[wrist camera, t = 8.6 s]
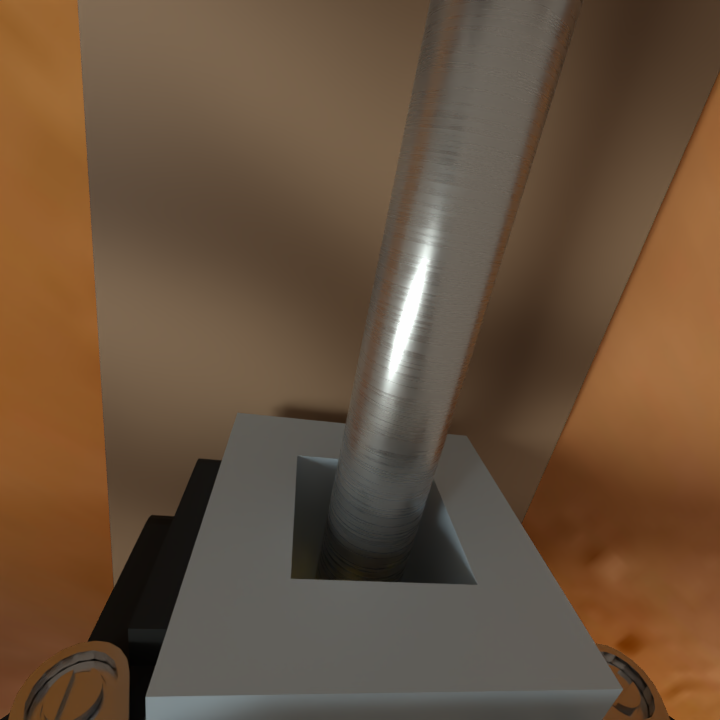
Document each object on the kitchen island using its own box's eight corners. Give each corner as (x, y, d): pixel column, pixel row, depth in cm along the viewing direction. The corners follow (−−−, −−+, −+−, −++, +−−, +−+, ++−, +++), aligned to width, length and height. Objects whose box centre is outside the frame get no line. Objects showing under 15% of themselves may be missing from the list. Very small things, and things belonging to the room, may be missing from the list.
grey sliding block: (237, 412, 9) (144, 697, 4) (466, 436, 10) (622, 688, 5) (224, 570, 11) (150, 899, 6) (419, 576, 12) (499, 866, 7)
